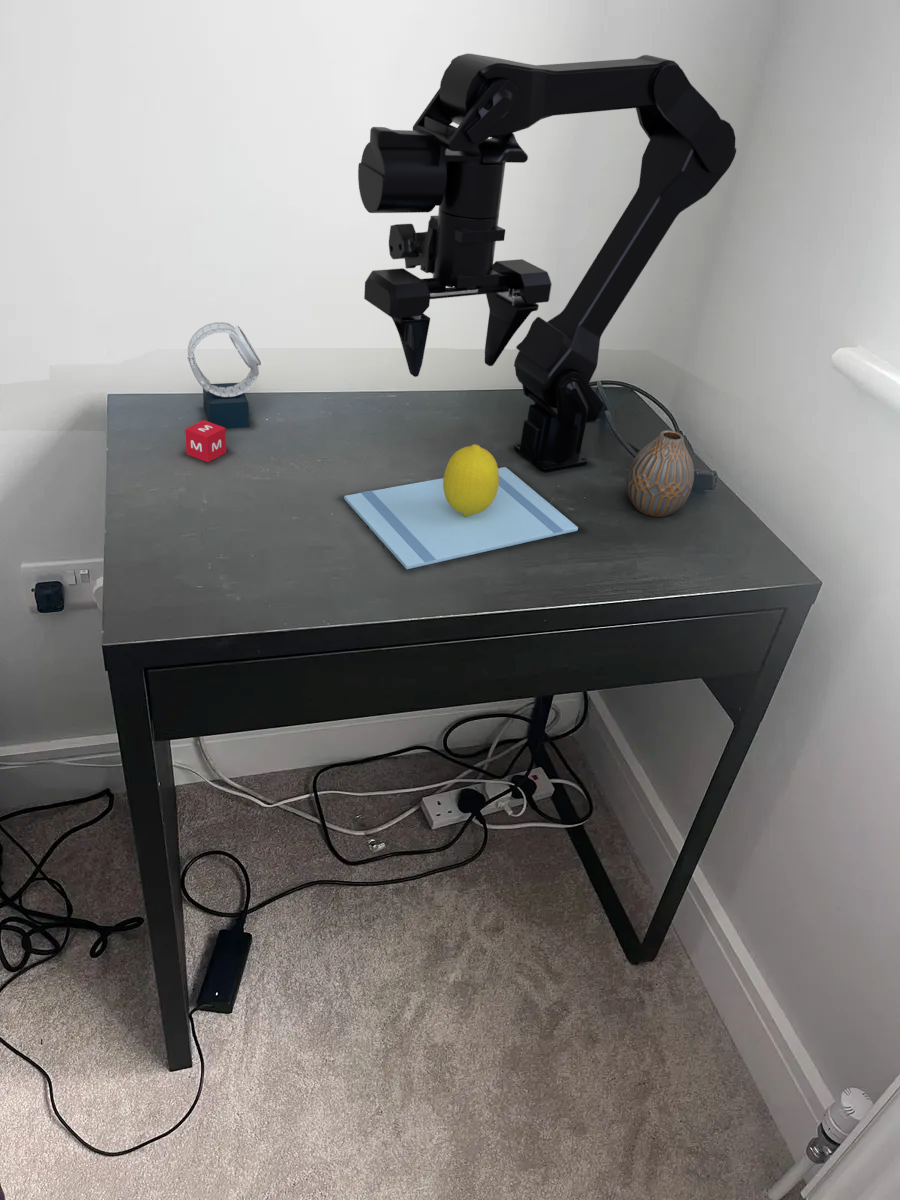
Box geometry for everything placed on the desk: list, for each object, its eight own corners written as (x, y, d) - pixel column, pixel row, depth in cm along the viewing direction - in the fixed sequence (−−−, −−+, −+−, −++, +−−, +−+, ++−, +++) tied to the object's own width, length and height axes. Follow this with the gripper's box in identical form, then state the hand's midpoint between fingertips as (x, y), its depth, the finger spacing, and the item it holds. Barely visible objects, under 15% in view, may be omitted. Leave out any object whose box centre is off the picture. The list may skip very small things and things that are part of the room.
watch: (265, 426, 107) (264, 333, 100) (195, 430, 104) (189, 335, 98) (256, 406, 111) (255, 316, 105) (188, 409, 108) (182, 317, 102)
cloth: (505, 469, 104) (505, 466, 104) (577, 530, 95) (578, 527, 94) (344, 499, 95) (344, 495, 95) (406, 569, 85) (407, 565, 85)
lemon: (488, 534, 91) (499, 462, 87) (434, 523, 92) (442, 451, 87) (497, 508, 96) (508, 438, 91) (445, 498, 96) (453, 428, 92)
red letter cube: (204, 444, 101) (203, 419, 100) (226, 452, 100) (225, 427, 99) (186, 454, 99) (184, 428, 97) (208, 462, 98) (206, 437, 96)
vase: (615, 513, 98) (633, 439, 93) (627, 486, 104) (645, 415, 99) (678, 530, 97) (700, 456, 92) (688, 502, 102) (709, 430, 97)
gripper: (501, 188, 96) (483, 334, 105) (340, 193, 87) (336, 352, 96) (566, 216, 89) (541, 370, 98) (398, 224, 80) (387, 393, 89)
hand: (452, 369), depth 95 cm, fingers open, 9 cm apart
